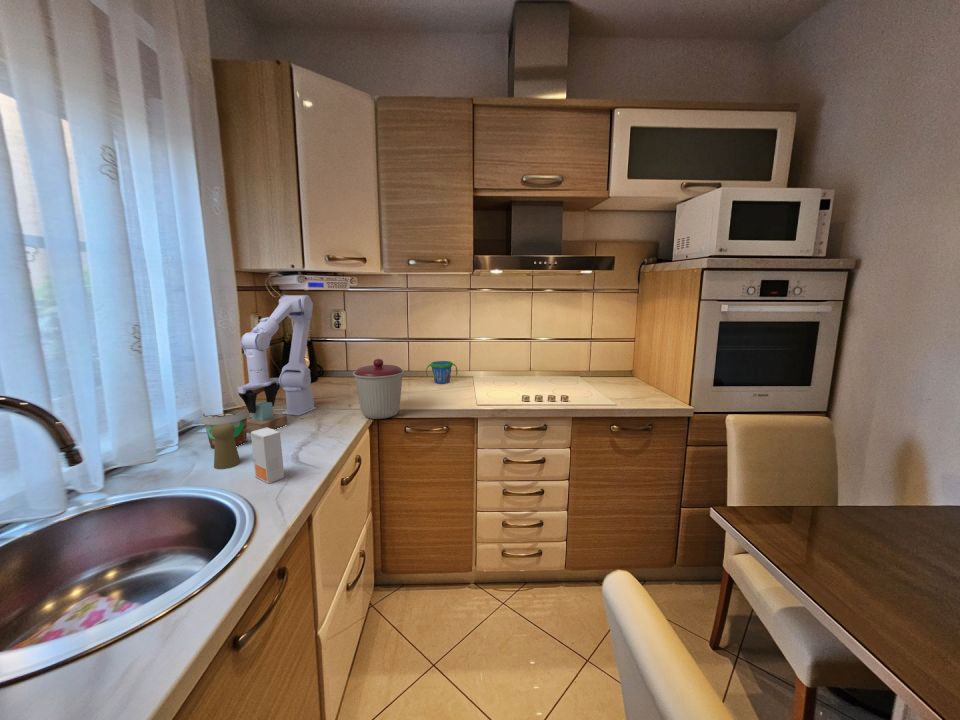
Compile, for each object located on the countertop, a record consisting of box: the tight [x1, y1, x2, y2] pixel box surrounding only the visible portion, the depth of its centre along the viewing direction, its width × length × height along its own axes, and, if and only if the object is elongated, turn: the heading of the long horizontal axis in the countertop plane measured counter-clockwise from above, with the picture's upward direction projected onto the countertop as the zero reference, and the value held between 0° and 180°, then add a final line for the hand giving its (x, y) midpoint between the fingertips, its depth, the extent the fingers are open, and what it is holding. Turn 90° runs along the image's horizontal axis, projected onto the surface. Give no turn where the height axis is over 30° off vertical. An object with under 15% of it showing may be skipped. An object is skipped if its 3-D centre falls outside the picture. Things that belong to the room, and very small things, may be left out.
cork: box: [212, 423, 241, 470], centre depth 104 cm, size 6×6×11 cm
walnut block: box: [247, 413, 288, 434], centre depth 132 cm, size 10×10×4 cm
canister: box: [352, 358, 405, 420], centre depth 145 cm, size 18×18×21 cm
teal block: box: [250, 400, 274, 421], centre depth 131 cm, size 4×4×5 cm
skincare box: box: [250, 428, 285, 485], centre depth 96 cm, size 6×4×12 cm
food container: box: [200, 409, 250, 450], centre depth 116 cm, size 12×6×10 cm, turn 105°
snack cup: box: [425, 360, 458, 385], centre depth 197 cm, size 16×10×10 cm
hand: (261, 409), depth 131 cm, fingers open, 7 cm apart
